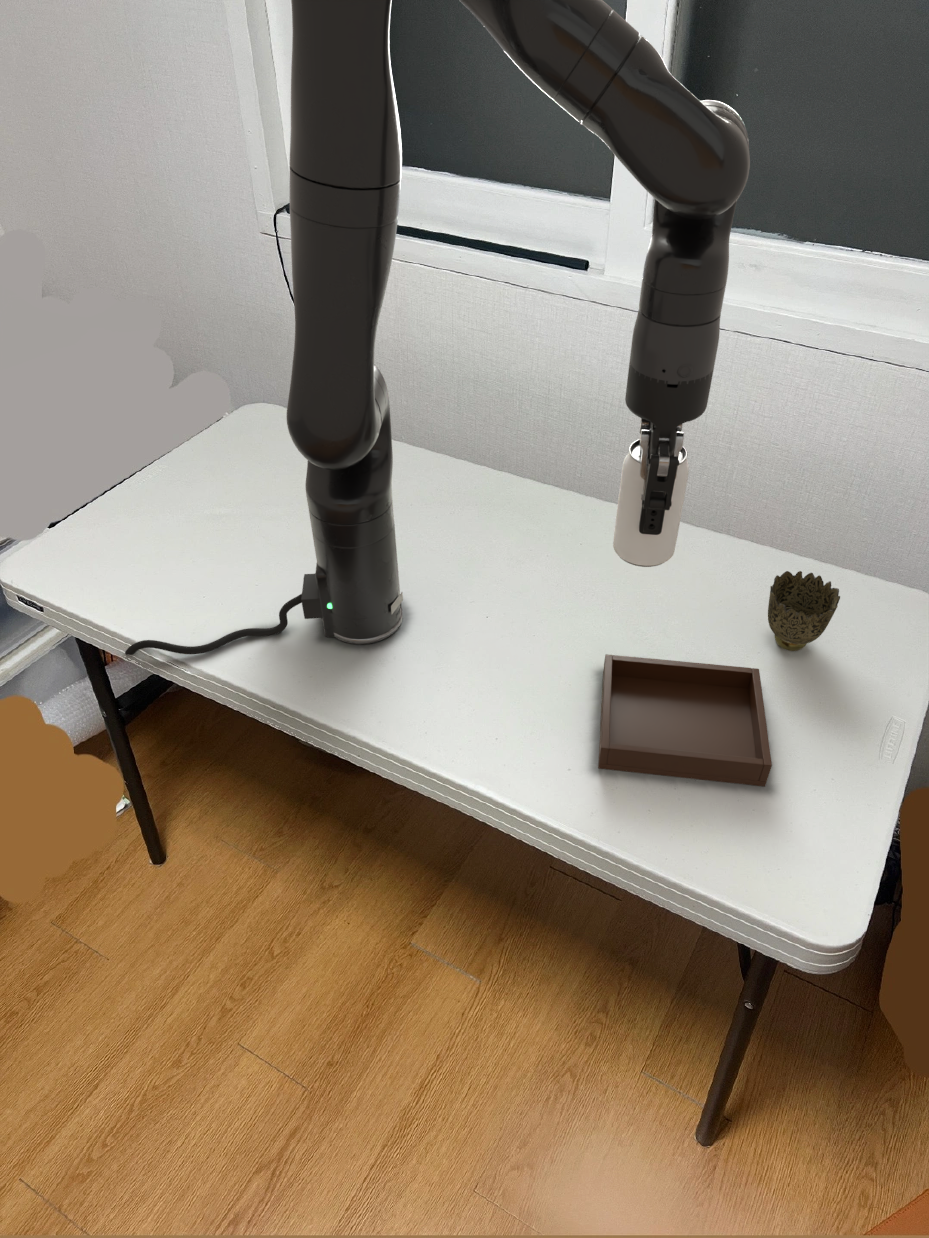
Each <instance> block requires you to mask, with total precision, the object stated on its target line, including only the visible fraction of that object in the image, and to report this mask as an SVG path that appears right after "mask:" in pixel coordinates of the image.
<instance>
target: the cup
mask: <svg viewBox="0 0 929 1238" xmlns="http://www.w3.org/2000/svg"><path fill="white" fill-rule="evenodd" d="M824 583H825V584H824ZM769 589H770V590H769V597H768V605H767V606H768V607H767V622H768V626H769V628H770V630H771V632H772V633H773V635H774V641H775V643H776V644H777V646H778V647H780V648H781V649H783V650H785V651H789V652H798V651H801V650H802V649H804V648H805V647H806V646H807V644H809V643H812V642H814V641H816V640H817V639H818V638H820V637H821V636H822V634H823V633H824V632H825V630H826V629H827V628H828V625H829V624H830V622H831V620H832V618H833V616H834V614H835V612H836V610H837V608H838V604H839V603H840V600H841V595H839V594H840V589H839V588H838V587H832V581H831V580H829V581H828V582H827V581H826V582H824V580H823V578H822V576H821V575H817V576H815V575H814V573H813V572H809V573H807V574H806V575H805V576H803V571H801V570H799V571H797V572H796V573H795V574H793V573H792V572H791V571H789V570H786V571H784V572H782V574H781V575H777V574H776V575H775V577H774V579H773V584H772V585H770V588H769Z"/></svg>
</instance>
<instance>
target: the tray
mask: <svg viewBox="0 0 929 1238" xmlns="http://www.w3.org/2000/svg"><path fill="white" fill-rule="evenodd" d="M601 682H602V684H601V701H600V702H601V703H600V719H599V720H600V721H599V726H600V727H599V740H598V741H599V743H598V744H599V745H598V763H597V768H598V769H599V770H600V769H601V770H607V771H608V770H609V771H618V772H627V773H637V774H645V775H654V776H663V777H673V778H680V779H681V778H682V779H691V780H699V781H700V780H701V781H708V782H709V781H710V782H717V783H718V782H719V783H726V784H727V783H728V784H735V785H736V784H738V785H745V786H755V787H766V785H767V783H768V780H769V777H770V773H771V771H772V768H773V762H772V755H771V748H770V740H769V733H768V732H769V731H768V726H767V725H768V724H767V719H766V711H765V710H766V709H765V703H764V697H763V695H764V694H763V689H762V680H761V673H760V669H759V668H755V667H745V666H736V665H724V664H714V663H703V662H694V661H693V662H692V661H681V660H671V659H660V658H650V657H649V658H648V657H639V656H629V655H628V656H627V655H619V654H618V655H617V654H607V653H606V654H605V655H604V661H603V669H602V681H601Z"/></svg>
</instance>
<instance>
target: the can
mask: <svg viewBox="0 0 929 1238" xmlns="http://www.w3.org/2000/svg"><path fill="white" fill-rule="evenodd" d="M641 453H642V448H641V447H640V438H639V439H637V440H635V441H633V442H632V443H631V444H630V445H629V448H628V452H627V454H626V456H625V457H624V459H623V463H622V466H621V467H622V468H621V475H620V482H619V490H618V491H619V492H618V498H617V499H618V500H617V505H616V515H615V524H614V531H613V541H612V544H613V545H612V547H613V550H614V552H615V554H616V555H617V556H618V557H619V558H620V559H621V560H622V561H623V562H625V563H627V564H629V565H632V566H636V567H642V568H651V567H658V566H661V565H663V564H665V563H666V562H668V561H669V560H671V559H672V558H673V556H674V554H675V551H676V547H677V540H678V535H679V530H680V524H681V518H682V513H683V508H684V501H685V496H686V492H687V491H686V490H687V485H688V480H689V474H690V473H689V472H690V465H689V461H688V460H687V458H688V451H687V449H686V448H685V446H683V447H682V449H681V450H680V452H679V466H678V469H677V477H676V479H675V482H674V488H673V493H672V499H671V501H672V505H671V507H670V509H669V510H665V514H664V520H663V526H662V532H661V533H660V534H659V535H650V534H641V533H640V532H639V522H640V515H641V508H642V500H641V494H642V495H643V486H644V479H643V478H641V476H640V474H639V473H640V464H641ZM648 465H649V464H648V461H647V465H646V467H647V469H648ZM655 492H664V491H655Z"/></svg>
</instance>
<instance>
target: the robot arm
mask: <svg viewBox="0 0 929 1238" xmlns="http://www.w3.org/2000/svg"><path fill="white" fill-rule="evenodd" d="M392 1H393V0H290V2H291V3H290V4H291V23H292V24H291V25H292V27H291V28H292V37H291V38H292V39H291V40H292V41H291V42H292V43H291V48H292V49H291V65H290V66H291V69H290V70H291V72H290V138H289V139H290V140H289V162H288V164H289V224H290V225H289V226H290V253H291V255H290V256H291V258H290V259H291V279H292V294H293V295H292V296H293V306H294V307H293V308H294V345H293V356H292V366H291V377H290V384H289V393H288V400H287V408H286V425H287V430H288V434H289V436H290V439H291V441H292V443H293V444H294V446H295V448H296V449H297V451H298V452H299V454H301V455H302V456H303V458H304V459H306V460H307V467H306V475H305V484H304V485H305V495H306V496H305V497H306V502H307V509H308V515H309V520H310V527H311V533H312V539H313V546H314V552H315V553H314V554H315V558H316V559H315V560H316V563H315V564H316V565H315V573H304V574H303V580H302V581H303V582H302V590H301V593H300V594H298V595H297V596H295V597H293V598H291V599H290V600H288V601H287V602H285V603H284V604H283V605H282V606H281V608H280V609H279V612H278V619H279V623H278V624H276V626H273V627H268V628H267V627H265V628H264V627H263V628H262V627H259V628H258V627H252V628H251V627H250V628H241V629H239V630H236V631H233V632H231V633H228V634H226V635H224V636H221V637H220V638H218V639H216V640H214V641H212V642H208V643H205V644H202V645H195V646H188V645H181V644H174V643H170V642H165V641H160V640H155V639H143V640H139V641H137V642H134V643H133V644H131V645H130V646H129V647H128V648H126V650H125V652H124V654H126V655H127V656H130V655H131V656H132V655H133V654H135V653H137V651H139V650H142V649H146V648H147V649H157V650H162V651H165V652H170V653H174V654H180V655H201V654H205V653H206V654H207V653H210V652H213V651H215V650H217V649H219V648H221V647H224V646H225V645H227V644H229V643H231V642H233V641H236V640H238V639H242V638H245V637H246V638H247V637H266V636H274V635H278V634H280V633H282V632H283V631H285V629H286V628H287V626H288V623H289V621H288V613H289V611H290V610H292V609H293V608H295V607H296V606H299V605H300V604H301V606H302V612H303V618H304V619H305V620H313V619H314V620H315V619H322V626H323V632H324V637H326V638H335V639H337V640H339V641H341V642H343V643H348V644H352V645H367V644H368V645H369V644H372V643H377V642H380V641H383V640H386V639H387V638H388V637H390V636H392V635H393V634H394V633H395V632H397V630H398V629H399V628H400V626H401V625H402V622H403V617H404V616H403V607H402V602H403V600H404V596H403V591H401V588H400V587H401V586H400V575H399V574H400V573H399V563H398V551H397V549H398V548H397V536H396V527H395V526H396V525H395V513H394V501H393V488H392V487H393V471H394V470H393V467H394V454H393V436H392V435H393V434H392V433H393V432H392V417H391V404H390V395H389V389H388V385H387V383H386V380H385V377H384V375H383V373H382V372H381V370H380V369H379V368H378V366H377V365H376V364H375V349H376V348H375V347H376V338H377V337H376V336H377V330H378V325H379V320H380V316H381V312H382V307H383V303H384V300H385V299H384V298H385V294H386V291H387V287H388V281H389V277H390V273H391V266H392V262H393V255H394V250H395V245H396V238H397V230H398V223H399V222H398V221H399V213H400V212H399V211H400V198H401V197H400V196H401V187H402V186H401V185H402V171H403V147H402V134H401V133H402V132H401V124H400V116H399V110H398V109H399V108H398V104H397V103H398V102H397V98H396V97H397V96H396V91H395V85H394V78H393V72H392V71H393V70H392V65H391V63H392V62H391V52H390V28H391V27H390V26H391V11H392V3H393V2H392ZM458 1H459V2H460V3H461V4H462V5H463V6H464V7H465V8H466V9H467V11H469V12H470V13H471V14H472V16H473V17H474V18H475V19H477V21H478V22H479V23H480V25H482V26H483V28H484V29H485V30H486V31H487V32H488V34H490V37H492V38H493V39H494V41H495V42H496V43H497V44H498V45H499V47H500V48H501V49H502V51H503V52H504V53H505V54H506V55H507V56H508V58H509V59H510V60H511V61H512V62H513V63H514V65H515V66H516V67H518V69H519V70H520V71H521V73H523V74H524V75H525V76H526V77H527V78H528V79H529V80H530V81H531V82H532V83H533V84H534V85H535V86H536V87H537V88H538V89H540V90H541V91H542V92H543V93H544V94H545V95H546V96H548V97H549V98H550V99H551V100H552V101H553V102H555V103H556V104H557V105H558V106H559V107H560V108H562V109H563V111H565V112H566V113H567V114H569V115H570V116H571V117H572V118H574V119H575V120H576V121H577V122H578V123H580V125H582V126H583V127H585V128H586V129H587V130H588V131H590V132H591V133H592V134H593V135H595V136H597V138H599V139H600V140H601V141H602V142H603V143H604V144H605V145H606V146H607V148H609V150H610V151H611V153H613V155H614V156H615V158H616V159H617V160H618V161H619V162H620V163H621V164H622V166H623V167H624V168H625V169H626V170H627V171H628V172H629V173H630V174H631V175H632V176H633V178H634V179H635V180H636V181H637V182H638V183H639V184H640V185H641V186H642V187H643V188H644V190H645V191H646V192H647V193H648V194H649V195H650V196H651V197H653V199H654V200H653V211H652V212H653V213H652V227H651V236H650V241H649V244H648V248H647V252H646V256H645V260H644V265H643V271H642V278H641V286H640V292H639V293H640V294H639V302H638V310H637V315H636V319H635V322H634V327H633V332H632V338H631V346H630V353H629V361H628V362H629V364H628V372H627V380H626V388H625V389H626V390H625V398H624V401H625V404H626V407H627V408H628V410H629V411H630V412H631V413H632V414H634V415H635V416H636V417H638V418H640V420H639V439H640V447H641V448H642V453H641V464H640V473H639V474H640V476H641V478H643V479H644V486H643V495H642V494H641V500H642V508H641V515H640V522H639V532H640V533H641V534H650V535H659V534H660V533H661V532H662V526H663V520H664V514H665V510H669V509H670V507H671V505H672V501H671V499H672V493H673V488H674V482H675V479H676V477H677V469H678V466H679V452H680V450H681V449H682V447H684V438H685V432H684V431H682V430H683V424H685V423H688V422H689V423H690V422H692V421H695V420H697V419H698V418H699V417H701V416H702V415H704V413H705V411H706V410H707V407H708V402H709V397H710V392H711V387H712V380H713V376H714V371H715V370H714V369H715V363H716V359H717V353H718V348H719V342H720V333H721V332H720V331H721V315H722V309H723V304H724V299H725V293H726V289H727V282H728V275H729V264H730V237H731V236H730V235H731V233H732V232H731V231H732V227H733V222H734V217H735V213H736V208H737V203H738V200H739V198H740V196H741V195H742V193H743V191H744V189H745V187H746V185H747V183H748V179H749V175H750V168H751V156H750V155H751V154H750V143H749V135H748V131H747V128H746V125H745V123H744V120H743V119H742V118H741V116H740V115H739V113H738V112H737V111H736V110H735V109H733V107H731V106H730V105H728V104H726V103H724V102H722V101H719V100H712V99H705V100H700V99H698V98H697V96H695V95H694V94H693V92H691V91H690V90H688V89H687V87H685V85H683V84H682V83H681V82H680V81H679V80H678V79H676V78H675V77H674V75H672V73H671V72H670V71H669V69H668V67H667V65H666V63H665V61H664V59H663V57H662V56H661V54H660V53H659V51H658V50H657V48H655V47H654V46H653V45H652V43H651V42H649V40H647V39H646V38H645V37H644V36H643V35H642V34H641V35H640V32H639V31H638V30H637V29H636V28H634V26H632V25H631V24H630V23H629V22H628V21H626V20H625V19H624V18H623V17H622V16H621V15H620V14H619V13H618V12H617V11H615V9H613V8H612V7H611V6H610V5H609V4H608V3H606V2H605V1H604V0H458ZM647 461H648V464H649V465H648V469H647V467H646V465H647ZM655 491H664V492H655Z"/></svg>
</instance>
